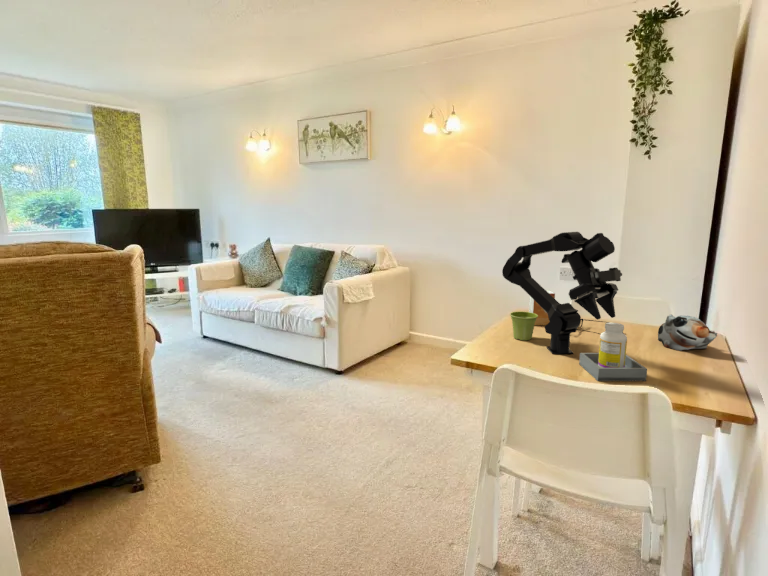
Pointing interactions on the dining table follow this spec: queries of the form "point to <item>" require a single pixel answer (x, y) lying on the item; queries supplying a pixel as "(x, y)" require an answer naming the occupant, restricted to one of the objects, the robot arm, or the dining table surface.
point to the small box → (539, 310)
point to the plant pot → (523, 324)
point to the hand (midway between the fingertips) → (606, 318)
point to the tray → (613, 369)
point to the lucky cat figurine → (685, 333)
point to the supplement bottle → (612, 346)
